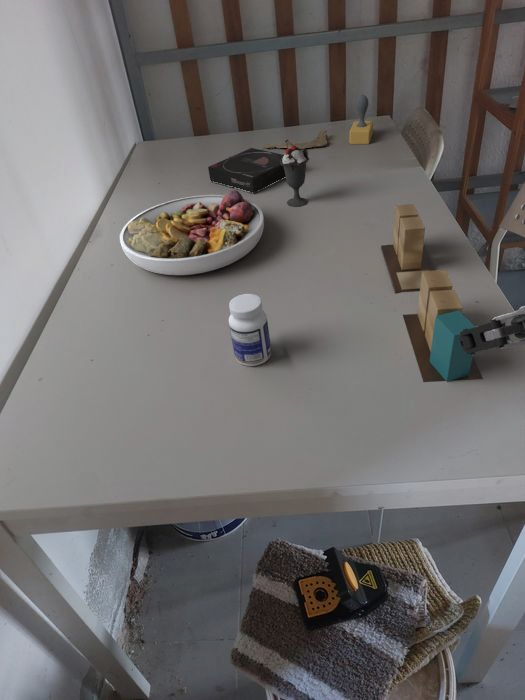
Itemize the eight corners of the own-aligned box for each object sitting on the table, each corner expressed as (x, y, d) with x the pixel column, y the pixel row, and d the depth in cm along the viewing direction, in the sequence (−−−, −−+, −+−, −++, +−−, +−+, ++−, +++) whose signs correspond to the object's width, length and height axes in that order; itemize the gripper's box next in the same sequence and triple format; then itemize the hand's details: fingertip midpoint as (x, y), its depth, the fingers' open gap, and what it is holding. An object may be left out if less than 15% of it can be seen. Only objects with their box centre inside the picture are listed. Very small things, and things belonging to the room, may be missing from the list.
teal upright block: (450, 355, 75) (458, 310, 70) (468, 375, 71) (478, 329, 66) (429, 361, 74) (435, 316, 69) (446, 381, 71) (454, 335, 66)
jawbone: (337, 146, 152) (337, 139, 150) (270, 160, 149) (269, 153, 148) (326, 135, 158) (326, 128, 157) (262, 148, 155) (261, 142, 154)
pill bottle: (251, 339, 83) (243, 287, 77) (279, 351, 80) (273, 298, 74) (227, 359, 80) (217, 306, 74) (255, 372, 77) (247, 318, 71)
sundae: (279, 207, 121) (274, 142, 112) (287, 196, 126) (283, 132, 117) (306, 209, 119) (303, 142, 110) (314, 197, 124) (311, 132, 115)
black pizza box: (298, 171, 138) (297, 156, 136) (254, 194, 129) (252, 178, 127) (254, 161, 148) (253, 147, 145) (210, 181, 139) (208, 166, 136)
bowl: (186, 300, 94) (177, 262, 89) (99, 255, 112) (87, 221, 107) (294, 235, 110) (292, 200, 105) (203, 204, 127) (197, 173, 122)
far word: (421, 244, 102) (426, 202, 96) (443, 292, 88) (449, 247, 83) (380, 247, 102) (382, 206, 97) (395, 295, 89) (398, 250, 83)
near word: (452, 314, 83) (460, 267, 78) (482, 382, 71) (494, 332, 65) (402, 317, 84) (406, 271, 78) (422, 385, 71) (429, 336, 66)
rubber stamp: (369, 144, 149) (370, 99, 142) (349, 144, 151) (349, 100, 143) (372, 133, 156) (374, 90, 149) (353, 133, 158) (354, 90, 150)
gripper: (662, 243, 45) (541, 289, 61) (517, 280, 43) (431, 317, 59) (692, 326, 44) (561, 350, 60) (545, 367, 42) (451, 381, 58)
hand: (497, 334), depth 60 cm, fingers open, 8 cm apart
